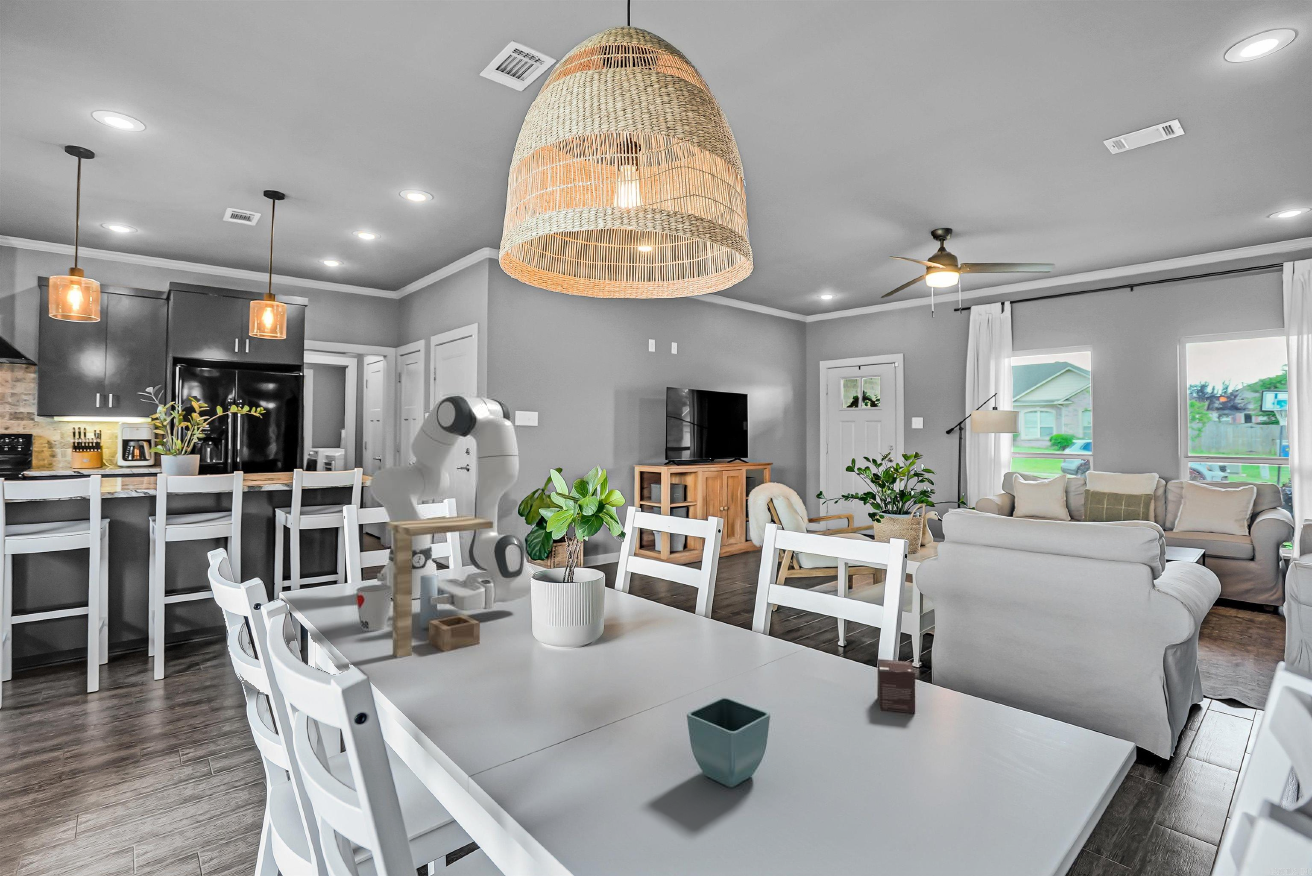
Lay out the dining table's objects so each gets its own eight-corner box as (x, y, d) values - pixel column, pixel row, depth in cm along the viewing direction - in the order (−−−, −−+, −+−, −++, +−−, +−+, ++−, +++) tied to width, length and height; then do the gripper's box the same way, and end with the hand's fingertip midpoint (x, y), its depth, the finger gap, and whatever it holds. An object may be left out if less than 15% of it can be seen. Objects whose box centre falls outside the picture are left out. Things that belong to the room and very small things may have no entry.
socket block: (428, 642, 149) (428, 621, 149) (463, 635, 155) (463, 614, 155) (444, 651, 143) (444, 629, 143) (479, 643, 149) (479, 622, 149)
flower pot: (684, 775, 92) (684, 712, 92) (723, 754, 98) (724, 695, 98) (732, 800, 85) (733, 733, 85) (771, 776, 92) (771, 713, 92)
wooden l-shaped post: (383, 648, 145) (384, 522, 145) (464, 631, 158) (465, 515, 158) (407, 664, 135) (408, 529, 135) (492, 645, 148) (492, 521, 148)
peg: (417, 623, 160) (417, 575, 160) (433, 620, 163) (433, 573, 162) (423, 627, 157) (424, 578, 157) (439, 624, 160) (440, 576, 159)
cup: (356, 625, 162) (356, 586, 162) (390, 622, 166) (391, 583, 166) (356, 634, 155) (356, 593, 155) (392, 630, 158) (392, 590, 158)
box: (911, 701, 118) (912, 661, 118) (915, 714, 112) (916, 673, 112) (876, 697, 120) (877, 658, 120) (879, 710, 114) (879, 669, 114)
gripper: (459, 571, 176) (409, 578, 167) (495, 585, 161) (442, 594, 152) (459, 593, 176) (409, 602, 167) (495, 610, 161) (442, 620, 152)
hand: (425, 598), depth 159 cm, fingers closed on peg, 4 cm apart
